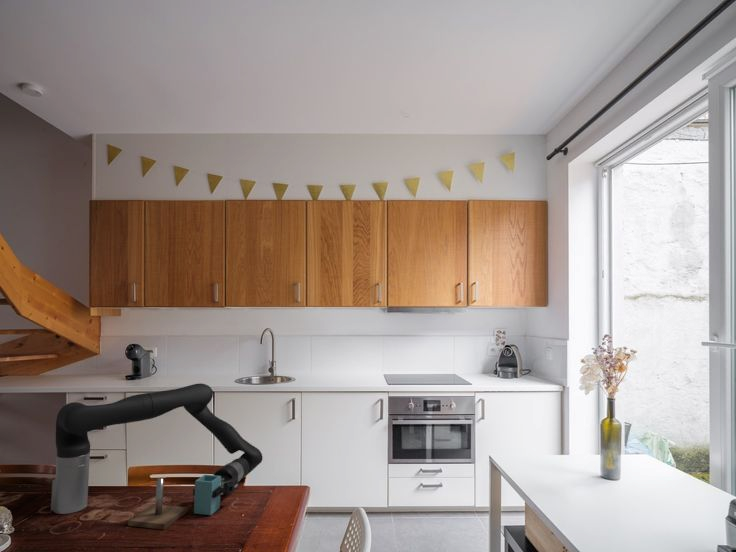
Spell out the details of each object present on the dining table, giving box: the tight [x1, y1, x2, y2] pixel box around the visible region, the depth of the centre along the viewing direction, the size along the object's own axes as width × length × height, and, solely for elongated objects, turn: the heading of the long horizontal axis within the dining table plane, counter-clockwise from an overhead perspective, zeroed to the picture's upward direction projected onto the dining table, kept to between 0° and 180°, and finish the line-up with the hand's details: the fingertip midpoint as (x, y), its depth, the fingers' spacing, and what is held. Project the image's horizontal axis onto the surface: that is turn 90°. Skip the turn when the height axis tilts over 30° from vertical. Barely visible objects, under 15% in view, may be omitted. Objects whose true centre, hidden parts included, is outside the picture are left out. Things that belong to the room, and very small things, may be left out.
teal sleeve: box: [193, 474, 221, 516], centre depth 153 cm, size 6×6×10 cm
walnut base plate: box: [127, 503, 188, 530], centre depth 147 cm, size 12×12×2 cm
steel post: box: [155, 477, 164, 515], centre depth 148 cm, size 2×2×10 cm
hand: (203, 494), depth 151 cm, fingers closed on teal sleeve, 5 cm apart
